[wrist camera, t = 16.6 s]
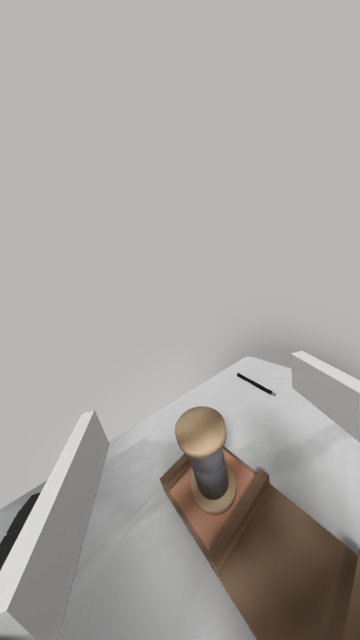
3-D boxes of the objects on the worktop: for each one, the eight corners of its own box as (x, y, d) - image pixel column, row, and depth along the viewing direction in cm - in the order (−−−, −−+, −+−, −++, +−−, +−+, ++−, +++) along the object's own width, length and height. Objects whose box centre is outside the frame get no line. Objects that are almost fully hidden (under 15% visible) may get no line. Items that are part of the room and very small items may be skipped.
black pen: (276, 396, 43) (276, 392, 43) (273, 397, 43) (273, 394, 43) (239, 375, 54) (239, 372, 54) (237, 376, 53) (236, 373, 53)
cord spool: (183, 485, 28) (165, 428, 25) (211, 453, 32) (199, 399, 29) (216, 529, 23) (199, 463, 20) (245, 483, 27) (235, 422, 24)
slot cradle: (164, 491, 29) (159, 478, 29) (211, 439, 36) (209, 428, 35) (348, 785, 11) (349, 774, 11) (375, 575, 18) (377, 559, 17)
